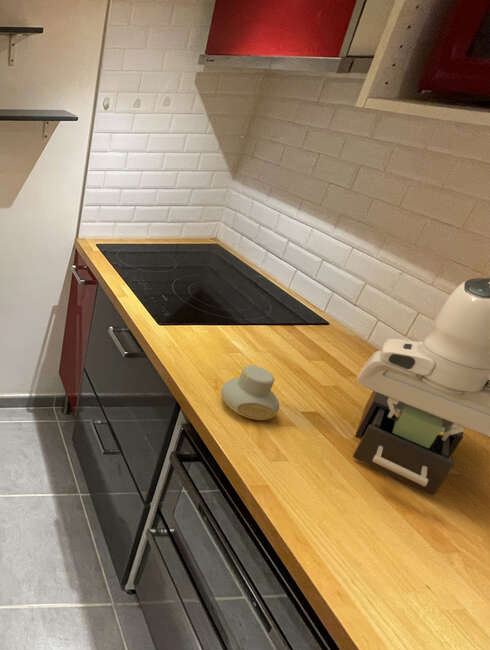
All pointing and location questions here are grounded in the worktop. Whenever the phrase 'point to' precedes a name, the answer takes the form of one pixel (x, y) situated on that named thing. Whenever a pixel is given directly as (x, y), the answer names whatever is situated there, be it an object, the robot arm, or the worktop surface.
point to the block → (418, 426)
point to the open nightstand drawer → (404, 455)
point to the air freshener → (251, 394)
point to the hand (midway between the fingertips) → (415, 427)
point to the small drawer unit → (381, 401)
